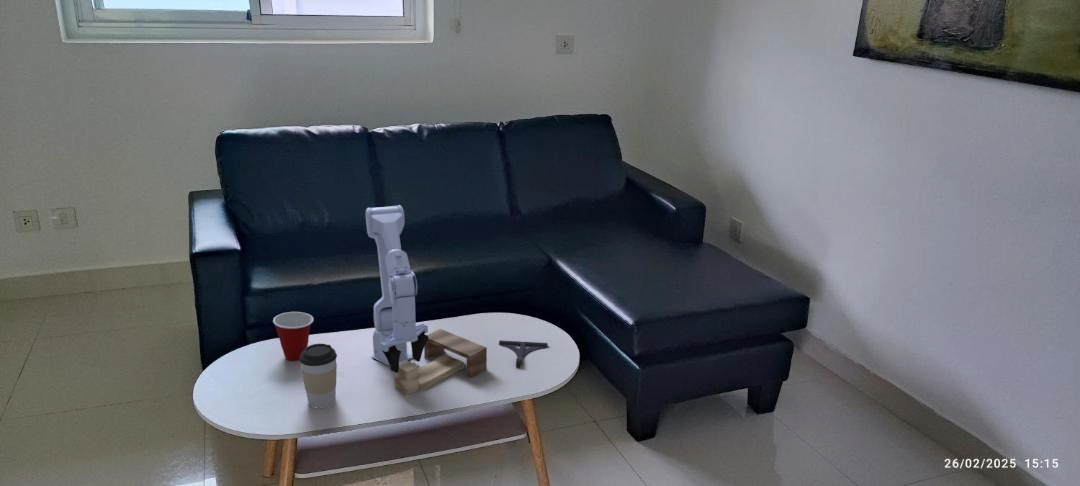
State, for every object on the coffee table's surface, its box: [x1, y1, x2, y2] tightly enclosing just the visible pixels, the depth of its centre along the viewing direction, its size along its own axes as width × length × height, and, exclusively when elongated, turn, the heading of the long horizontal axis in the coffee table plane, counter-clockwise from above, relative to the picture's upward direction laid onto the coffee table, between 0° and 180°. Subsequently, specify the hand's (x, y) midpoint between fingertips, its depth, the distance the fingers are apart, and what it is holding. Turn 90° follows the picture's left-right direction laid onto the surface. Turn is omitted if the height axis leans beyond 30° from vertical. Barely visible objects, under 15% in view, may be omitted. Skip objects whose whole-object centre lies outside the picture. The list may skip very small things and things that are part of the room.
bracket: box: [498, 340, 549, 369], centre depth 214 cm, size 14×15×3 cm
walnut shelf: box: [423, 328, 488, 379], centre depth 208 cm, size 18×6×7 cm, turn 52°
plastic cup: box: [272, 311, 314, 362], centre depth 208 cm, size 11×11×12 cm
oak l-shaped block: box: [393, 354, 465, 396], centre depth 200 cm, size 7×20×7 cm, turn 142°
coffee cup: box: [299, 343, 338, 409], centre depth 186 cm, size 9×9×15 cm
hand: (405, 365), depth 193 cm, fingers open, 7 cm apart
